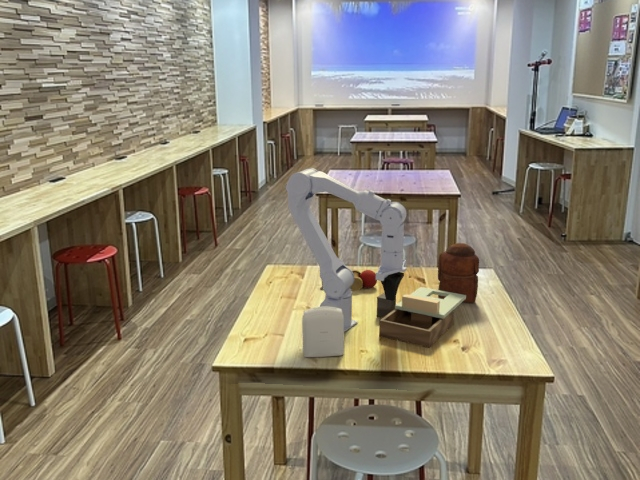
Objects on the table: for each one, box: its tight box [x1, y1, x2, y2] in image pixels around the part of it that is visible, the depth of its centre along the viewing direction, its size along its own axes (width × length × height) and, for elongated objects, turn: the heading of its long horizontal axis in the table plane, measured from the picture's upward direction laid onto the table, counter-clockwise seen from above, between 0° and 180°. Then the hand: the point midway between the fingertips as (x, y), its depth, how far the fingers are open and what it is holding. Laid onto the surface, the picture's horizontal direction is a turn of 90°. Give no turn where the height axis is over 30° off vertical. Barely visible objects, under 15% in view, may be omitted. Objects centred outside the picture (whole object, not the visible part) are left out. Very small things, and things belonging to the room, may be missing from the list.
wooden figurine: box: [437, 242, 480, 304], centre depth 186 cm, size 12×6×18 cm, turn 85°
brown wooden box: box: [378, 308, 456, 349], centre depth 166 cm, size 18×14×4 cm
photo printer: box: [301, 306, 345, 358], centre depth 150 cm, size 10×4×12 cm, turn 96°
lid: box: [395, 286, 466, 319], centre depth 172 cm, size 18×14×4 cm
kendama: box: [321, 269, 378, 292], centre depth 200 cm, size 8×6×18 cm
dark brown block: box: [376, 292, 397, 319], centre depth 175 cm, size 4×4×6 cm
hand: (390, 299), depth 163 cm, fingers closed
